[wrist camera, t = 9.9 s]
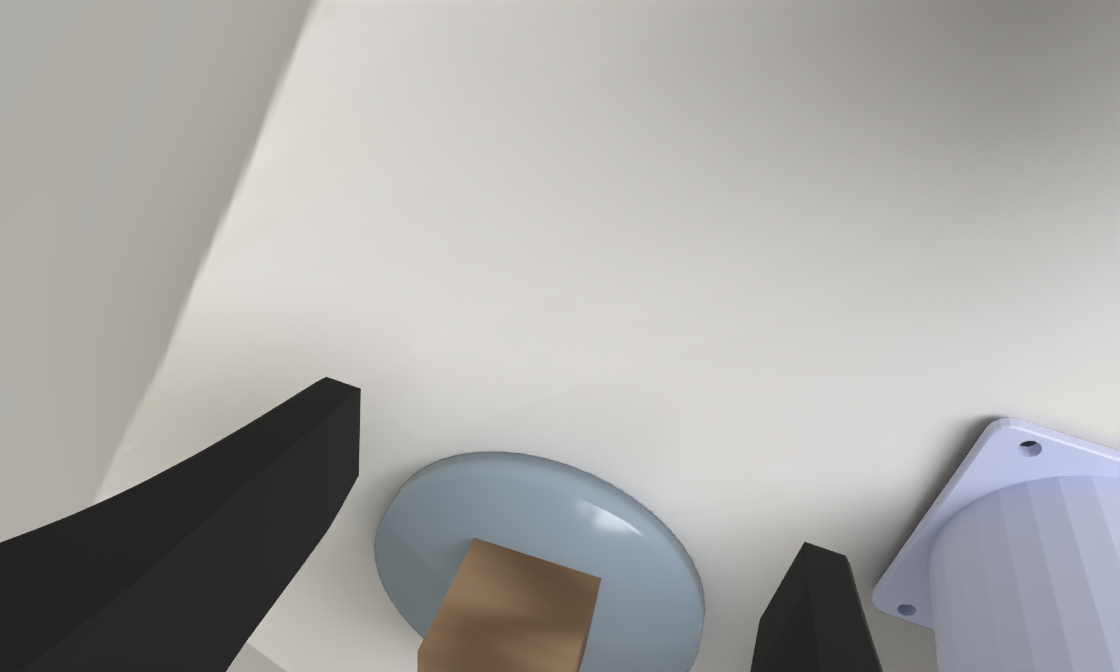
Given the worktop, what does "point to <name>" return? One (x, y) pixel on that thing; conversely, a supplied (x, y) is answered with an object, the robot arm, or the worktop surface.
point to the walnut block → (510, 615)
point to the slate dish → (547, 551)
